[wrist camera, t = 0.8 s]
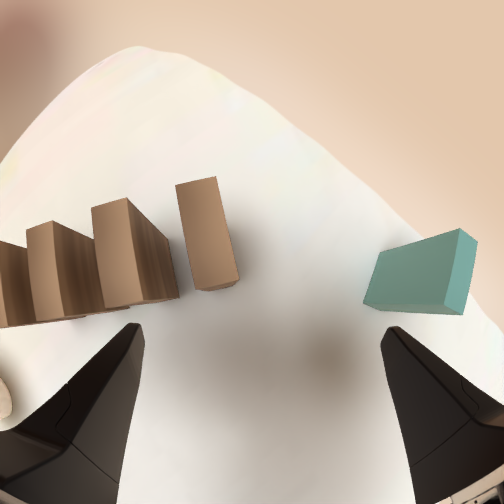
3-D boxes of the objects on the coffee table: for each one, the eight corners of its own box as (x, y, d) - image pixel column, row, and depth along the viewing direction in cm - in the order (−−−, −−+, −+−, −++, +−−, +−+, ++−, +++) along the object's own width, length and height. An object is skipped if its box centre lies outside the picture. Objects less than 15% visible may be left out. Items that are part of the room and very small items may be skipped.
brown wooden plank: (119, 250, 23) (52, 220, 12) (129, 308, 23) (64, 316, 12) (99, 255, 23) (26, 229, 12) (109, 312, 23) (36, 321, 12)
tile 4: (219, 227, 24) (215, 176, 14) (232, 285, 24) (239, 279, 13) (196, 232, 24) (175, 185, 13) (209, 291, 24) (195, 289, 13)
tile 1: (76, 261, 23) (-2, 240, 12) (85, 316, 22) (7, 326, 11) (59, 266, 23) (-20, 248, 12) (68, 319, 22) (-12, 329, 11)
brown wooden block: (167, 239, 24) (126, 197, 13) (179, 297, 23) (143, 300, 12) (145, 244, 24) (90, 207, 13) (156, 302, 23) (105, 308, 12)
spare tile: (395, 261, 26) (477, 241, 15) (379, 310, 25) (462, 315, 14) (379, 252, 26) (459, 228, 15) (362, 303, 25) (443, 304, 14)
